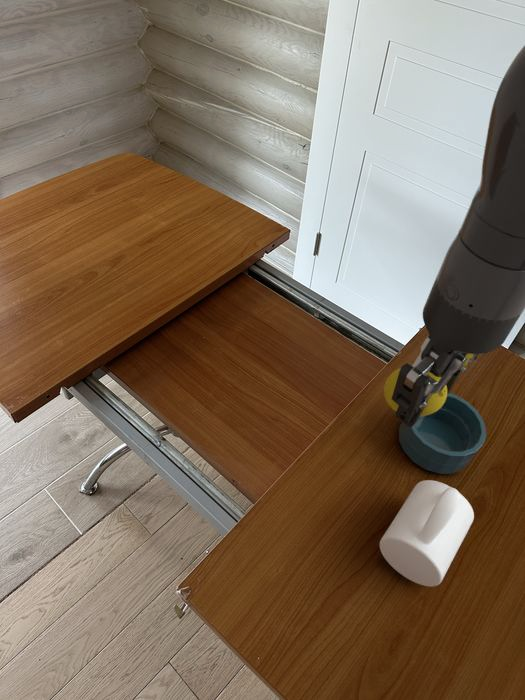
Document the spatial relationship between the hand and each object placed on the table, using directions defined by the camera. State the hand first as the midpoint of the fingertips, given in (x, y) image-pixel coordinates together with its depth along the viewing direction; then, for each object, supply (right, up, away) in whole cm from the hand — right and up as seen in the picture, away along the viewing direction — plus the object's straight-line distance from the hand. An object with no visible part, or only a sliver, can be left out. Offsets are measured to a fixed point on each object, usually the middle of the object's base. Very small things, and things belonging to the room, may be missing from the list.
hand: (422, 404), depth 56 cm
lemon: (-3, +1, +3) cm, 5 cm away
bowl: (+9, -9, +25) cm, 28 cm away
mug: (+4, -20, +14) cm, 25 cm away
